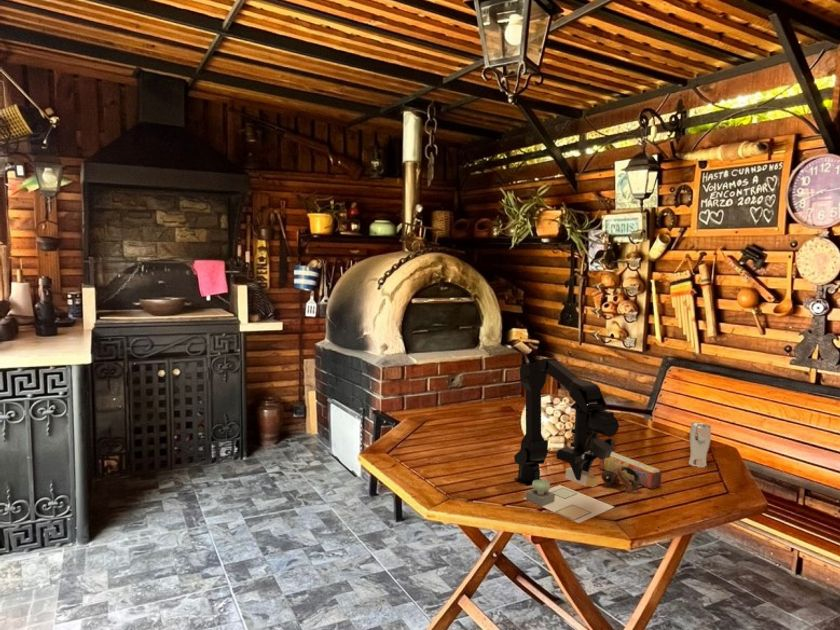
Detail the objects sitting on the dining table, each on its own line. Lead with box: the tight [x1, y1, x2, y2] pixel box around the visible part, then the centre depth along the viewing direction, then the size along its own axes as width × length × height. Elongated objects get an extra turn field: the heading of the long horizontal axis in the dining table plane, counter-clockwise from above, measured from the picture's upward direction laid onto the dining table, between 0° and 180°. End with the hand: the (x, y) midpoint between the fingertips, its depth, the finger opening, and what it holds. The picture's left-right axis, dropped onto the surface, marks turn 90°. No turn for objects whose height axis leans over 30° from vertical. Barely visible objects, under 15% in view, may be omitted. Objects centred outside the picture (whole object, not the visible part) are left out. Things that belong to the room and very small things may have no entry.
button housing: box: [525, 488, 555, 507], centre depth 178 cm, size 6×6×3 cm
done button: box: [531, 479, 551, 496], centre depth 177 cm, size 5×5×4 cm
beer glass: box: [688, 422, 712, 468], centre depth 215 cm, size 7×7×15 cm
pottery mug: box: [600, 466, 640, 494], centre depth 190 cm, size 12×10×8 cm
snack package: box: [598, 451, 662, 490], centre depth 200 cm, size 21×7×7 cm, turn 35°
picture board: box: [523, 484, 614, 524], centre depth 177 cm, size 20×18×1 cm
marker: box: [565, 466, 599, 488], centre depth 171 cm, size 9×3×3 cm, turn 42°
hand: (581, 478), depth 171 cm, fingers closed on marker, 3 cm apart
